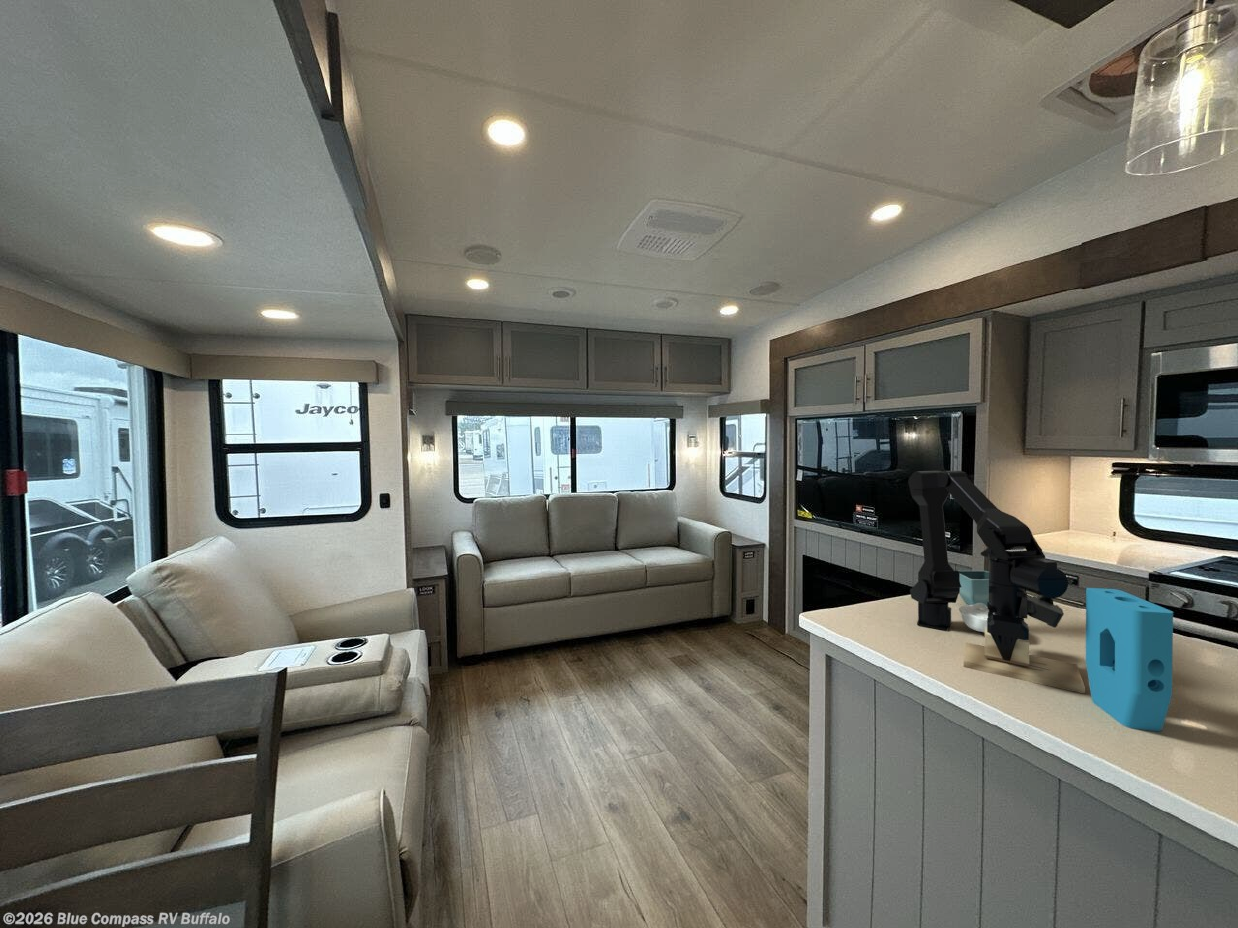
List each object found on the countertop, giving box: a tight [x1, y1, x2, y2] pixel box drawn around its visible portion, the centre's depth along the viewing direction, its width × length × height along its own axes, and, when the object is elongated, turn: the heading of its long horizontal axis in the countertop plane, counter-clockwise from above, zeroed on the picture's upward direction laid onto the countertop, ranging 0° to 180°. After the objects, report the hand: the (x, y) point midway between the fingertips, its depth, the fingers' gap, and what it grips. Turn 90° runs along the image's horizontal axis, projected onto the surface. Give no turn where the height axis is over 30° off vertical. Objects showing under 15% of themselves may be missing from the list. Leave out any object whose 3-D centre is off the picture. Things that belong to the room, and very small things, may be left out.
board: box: [963, 642, 1086, 694], centre depth 95 cm, size 18×11×1 cm, turn 51°
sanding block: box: [984, 627, 1030, 667], centre depth 96 cm, size 7×4×5 cm, turn 51°
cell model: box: [958, 603, 989, 633], centre depth 112 cm, size 10×12×7 cm
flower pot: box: [957, 570, 989, 607], centre depth 129 cm, size 9×9×9 cm
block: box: [1085, 587, 1174, 732], centre depth 78 cm, size 12×5×20 cm, turn 164°
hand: (1006, 655), depth 96 cm, fingers closed on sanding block, 4 cm apart
